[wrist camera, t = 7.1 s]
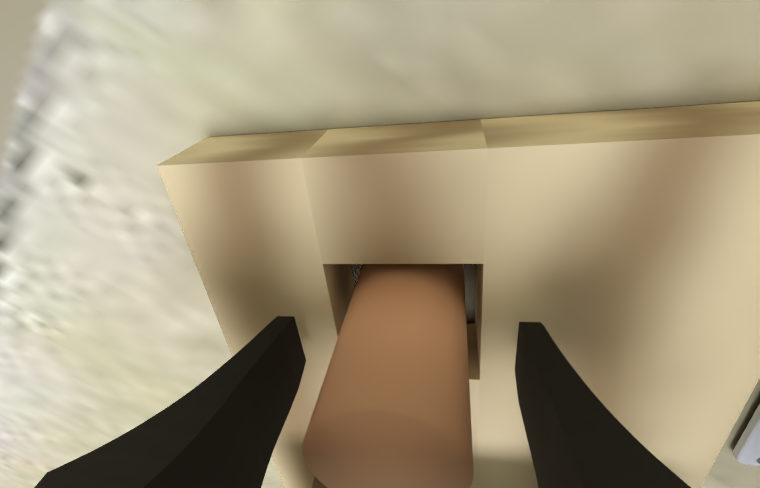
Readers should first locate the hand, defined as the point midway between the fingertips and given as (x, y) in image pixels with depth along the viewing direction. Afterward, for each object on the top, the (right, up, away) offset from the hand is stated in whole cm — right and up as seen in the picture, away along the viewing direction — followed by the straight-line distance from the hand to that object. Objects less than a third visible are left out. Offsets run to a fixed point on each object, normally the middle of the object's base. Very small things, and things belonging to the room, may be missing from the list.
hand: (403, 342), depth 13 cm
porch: (+3, -1, +4) cm, 5 cm away
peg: (+1, +2, +3) cm, 4 cm away
